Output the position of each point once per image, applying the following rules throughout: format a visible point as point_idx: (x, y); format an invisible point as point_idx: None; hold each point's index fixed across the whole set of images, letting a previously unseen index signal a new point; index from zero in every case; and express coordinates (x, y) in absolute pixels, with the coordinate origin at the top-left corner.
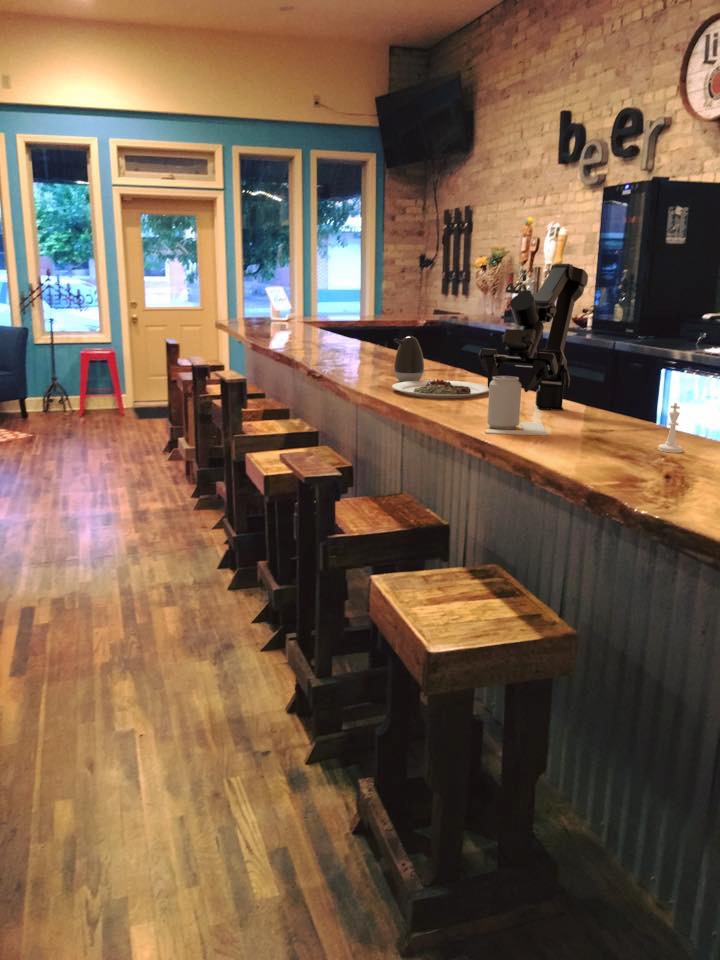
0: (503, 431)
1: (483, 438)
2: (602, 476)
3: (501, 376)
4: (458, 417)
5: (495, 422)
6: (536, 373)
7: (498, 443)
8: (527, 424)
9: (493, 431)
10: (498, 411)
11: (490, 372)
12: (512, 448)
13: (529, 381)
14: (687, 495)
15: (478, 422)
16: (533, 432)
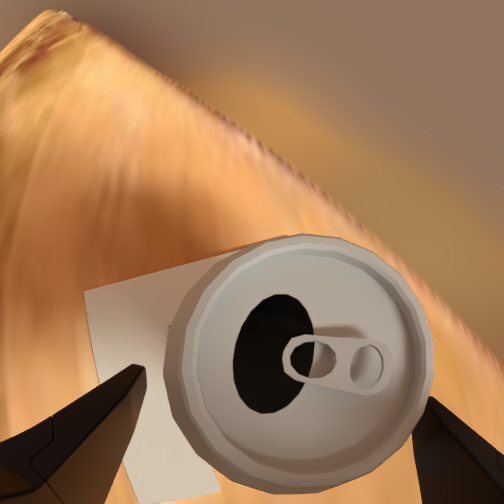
0: None
1: (272, 173)
2: (57, 54)
3: (375, 386)
4: None
5: (284, 312)
6: (12, 441)
7: (217, 137)
8: (179, 456)
9: None
10: (281, 297)
11: (489, 461)
12: (176, 110)
13: (92, 397)
14: (8, 54)
15: None
16: (130, 301)
